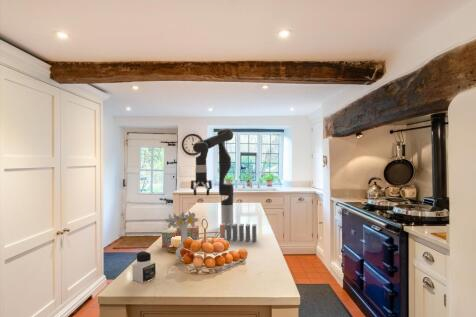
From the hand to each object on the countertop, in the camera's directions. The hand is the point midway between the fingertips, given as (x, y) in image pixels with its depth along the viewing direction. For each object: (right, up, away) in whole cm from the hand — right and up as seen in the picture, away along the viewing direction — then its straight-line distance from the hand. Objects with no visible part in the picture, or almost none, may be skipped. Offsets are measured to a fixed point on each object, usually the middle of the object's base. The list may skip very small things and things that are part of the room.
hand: (201, 195), depth 191 cm
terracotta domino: (+15, -28, -7) cm, 32 cm away
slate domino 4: (+35, -28, -11) cm, 46 cm away
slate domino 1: (+19, -28, -7) cm, 34 cm away
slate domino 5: (+31, -28, -10) cm, 43 cm away
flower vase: (-5, -29, -41) cm, 50 cm away
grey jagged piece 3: (+23, -28, -8) cm, 37 cm away
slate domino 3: (+27, -28, -9) cm, 40 cm away
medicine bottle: (-17, -29, -65) cm, 73 cm away
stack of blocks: (-10, -29, -19) cm, 36 cm away
